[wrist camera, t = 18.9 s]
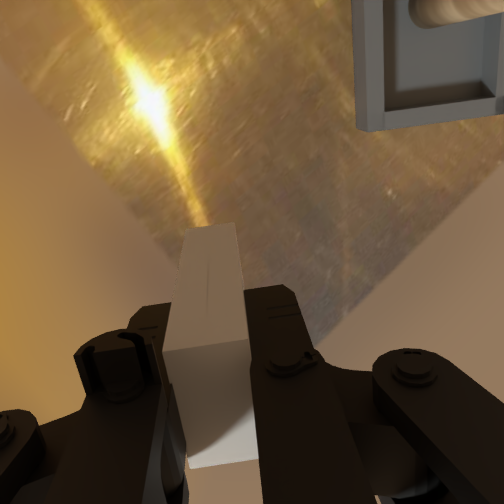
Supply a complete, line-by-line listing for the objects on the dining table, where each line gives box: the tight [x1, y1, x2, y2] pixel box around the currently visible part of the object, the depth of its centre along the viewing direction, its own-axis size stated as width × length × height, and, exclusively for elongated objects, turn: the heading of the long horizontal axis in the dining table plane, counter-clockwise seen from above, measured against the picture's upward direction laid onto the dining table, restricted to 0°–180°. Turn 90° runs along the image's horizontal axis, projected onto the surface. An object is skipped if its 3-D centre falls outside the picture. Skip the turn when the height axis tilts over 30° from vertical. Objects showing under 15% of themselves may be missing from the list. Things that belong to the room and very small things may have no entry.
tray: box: [351, 0, 504, 132], centre depth 30 cm, size 15×10×3 cm
